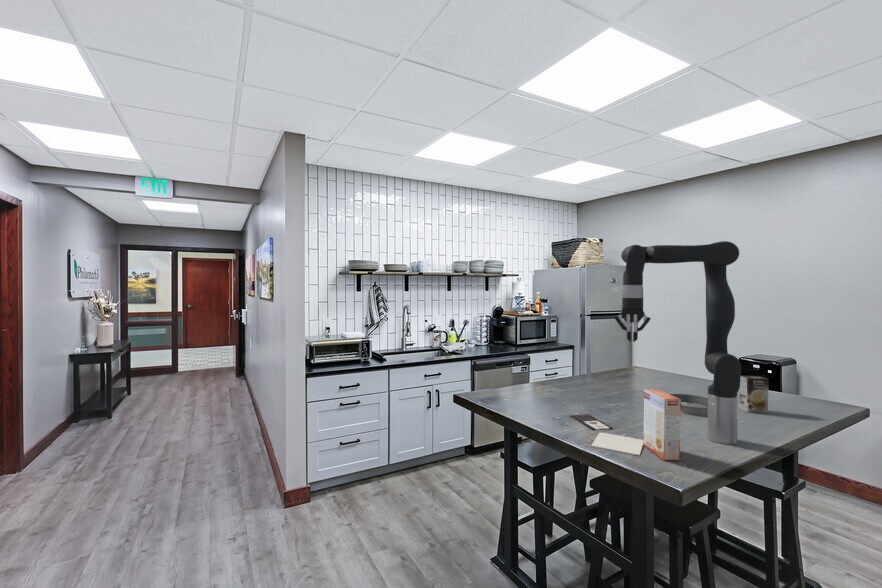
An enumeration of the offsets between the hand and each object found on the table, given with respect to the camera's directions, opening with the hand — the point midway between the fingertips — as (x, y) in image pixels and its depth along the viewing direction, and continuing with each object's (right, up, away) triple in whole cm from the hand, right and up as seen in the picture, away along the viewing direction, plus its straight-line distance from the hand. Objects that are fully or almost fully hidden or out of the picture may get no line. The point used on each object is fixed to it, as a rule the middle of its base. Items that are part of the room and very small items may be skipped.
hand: (632, 341), depth 162 cm
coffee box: (+73, -37, +34) cm, 88 cm away
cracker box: (+3, -38, -16) cm, 41 cm away
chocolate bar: (-10, -37, +16) cm, 42 cm away
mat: (-9, -37, -8) cm, 39 cm away
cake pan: (+46, -37, +37) cm, 70 cm away
